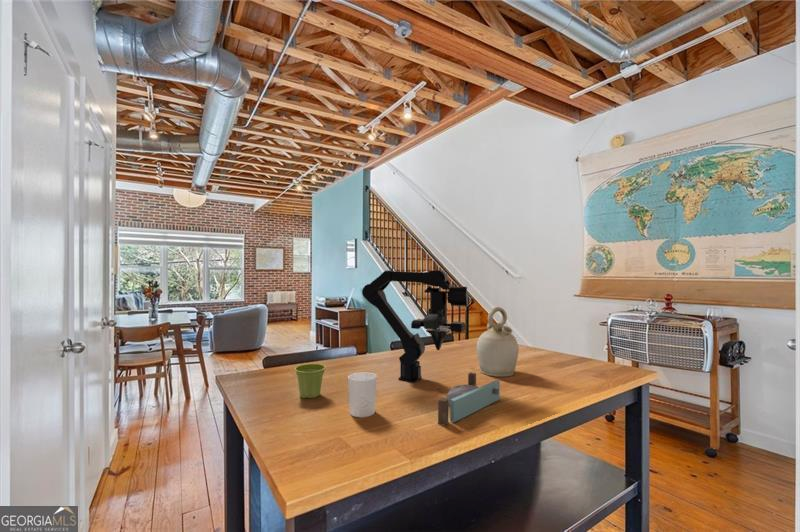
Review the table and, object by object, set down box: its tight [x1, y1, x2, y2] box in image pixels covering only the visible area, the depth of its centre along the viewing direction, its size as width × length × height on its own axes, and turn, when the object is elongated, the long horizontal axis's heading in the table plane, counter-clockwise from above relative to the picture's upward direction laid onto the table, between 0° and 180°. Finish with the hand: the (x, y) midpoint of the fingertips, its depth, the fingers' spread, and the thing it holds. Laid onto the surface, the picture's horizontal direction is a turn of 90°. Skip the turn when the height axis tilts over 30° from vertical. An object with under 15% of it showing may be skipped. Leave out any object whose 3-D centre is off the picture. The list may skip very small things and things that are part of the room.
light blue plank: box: [437, 372, 477, 426], centre depth 104 cm, size 2×28×6 cm, turn 153°
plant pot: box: [294, 363, 327, 399], centre depth 113 cm, size 9×9×9 cm
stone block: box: [446, 384, 480, 406], centre depth 109 cm, size 12×5×10 cm
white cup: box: [347, 371, 378, 418], centre depth 99 cm, size 8×8×10 cm
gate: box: [449, 379, 501, 423], centre depth 101 cm, size 2×23×6 cm, turn 136°
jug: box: [476, 306, 520, 378], centre depth 139 cm, size 15×16×25 cm
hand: (438, 349), depth 127 cm, fingers closed
